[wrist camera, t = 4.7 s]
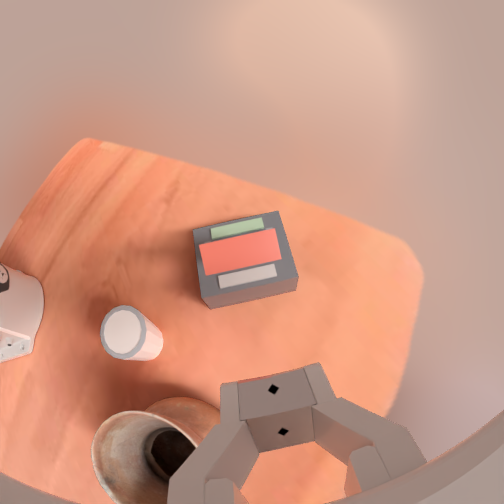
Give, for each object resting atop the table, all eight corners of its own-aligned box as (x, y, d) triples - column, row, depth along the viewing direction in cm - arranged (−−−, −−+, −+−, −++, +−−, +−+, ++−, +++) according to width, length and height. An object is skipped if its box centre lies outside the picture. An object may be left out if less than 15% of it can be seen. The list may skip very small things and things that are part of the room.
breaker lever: (268, 252, 36) (281, 259, 23) (218, 263, 36) (205, 275, 23) (263, 232, 36) (274, 228, 23) (214, 243, 36) (199, 245, 23)
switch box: (295, 290, 38) (300, 267, 31) (210, 309, 38) (195, 290, 31) (278, 229, 43) (278, 198, 36) (201, 246, 42) (187, 218, 36)
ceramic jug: (234, 380, 33) (204, 376, 21) (273, 476, 27) (267, 523, 14) (119, 410, 32) (52, 410, 19) (152, 497, 25) (98, 530, 13)
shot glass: (136, 372, 34) (110, 368, 28) (119, 331, 37) (93, 319, 31) (175, 352, 35) (155, 344, 29) (155, 310, 38) (134, 295, 32)
